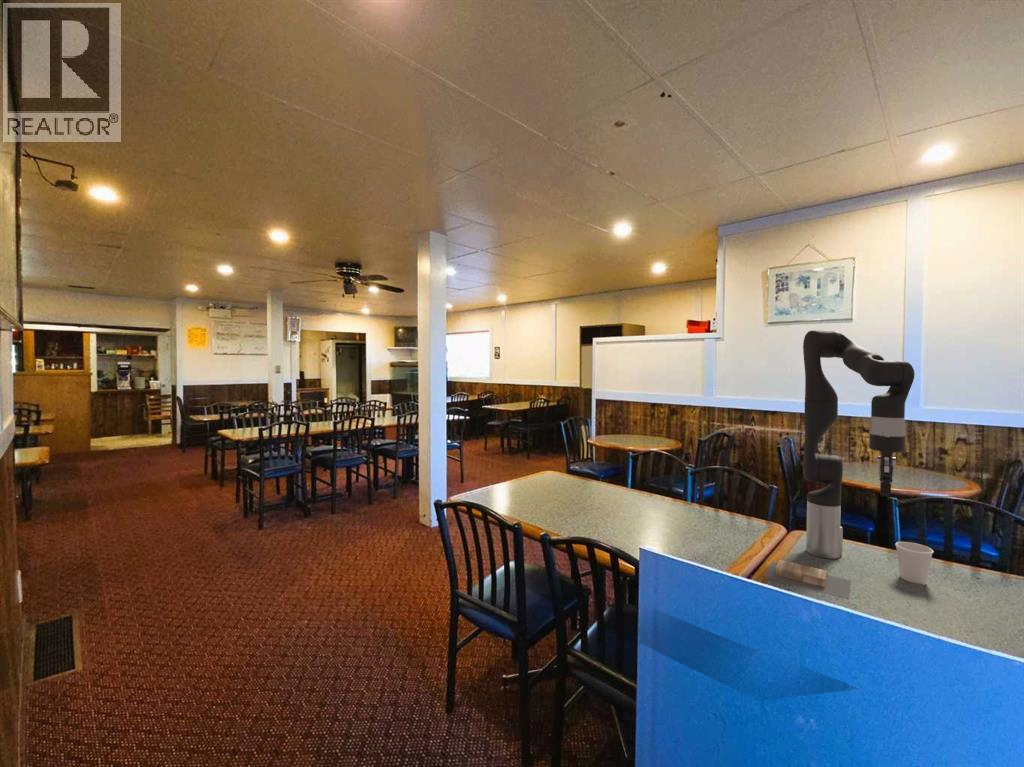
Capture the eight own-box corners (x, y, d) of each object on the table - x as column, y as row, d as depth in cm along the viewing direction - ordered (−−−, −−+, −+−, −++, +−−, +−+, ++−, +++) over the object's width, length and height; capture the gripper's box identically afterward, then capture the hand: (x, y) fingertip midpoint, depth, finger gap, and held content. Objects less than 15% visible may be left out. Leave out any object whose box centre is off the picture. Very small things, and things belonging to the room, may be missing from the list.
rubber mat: (850, 582, 129) (850, 580, 129) (848, 601, 118) (848, 599, 118) (772, 563, 141) (772, 561, 141) (763, 578, 130) (763, 577, 130)
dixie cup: (940, 588, 125) (941, 553, 125) (906, 585, 127) (907, 551, 126) (919, 575, 133) (920, 542, 133) (887, 572, 135) (888, 540, 134)
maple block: (827, 570, 129) (779, 559, 137) (825, 579, 124) (775, 567, 131) (826, 579, 129) (779, 567, 137) (824, 588, 124) (775, 575, 132)
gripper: (869, 429, 129) (868, 488, 129) (869, 434, 119) (867, 498, 119) (904, 432, 124) (902, 493, 124) (906, 437, 114) (904, 504, 114)
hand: (885, 496), depth 122 cm, fingers closed
